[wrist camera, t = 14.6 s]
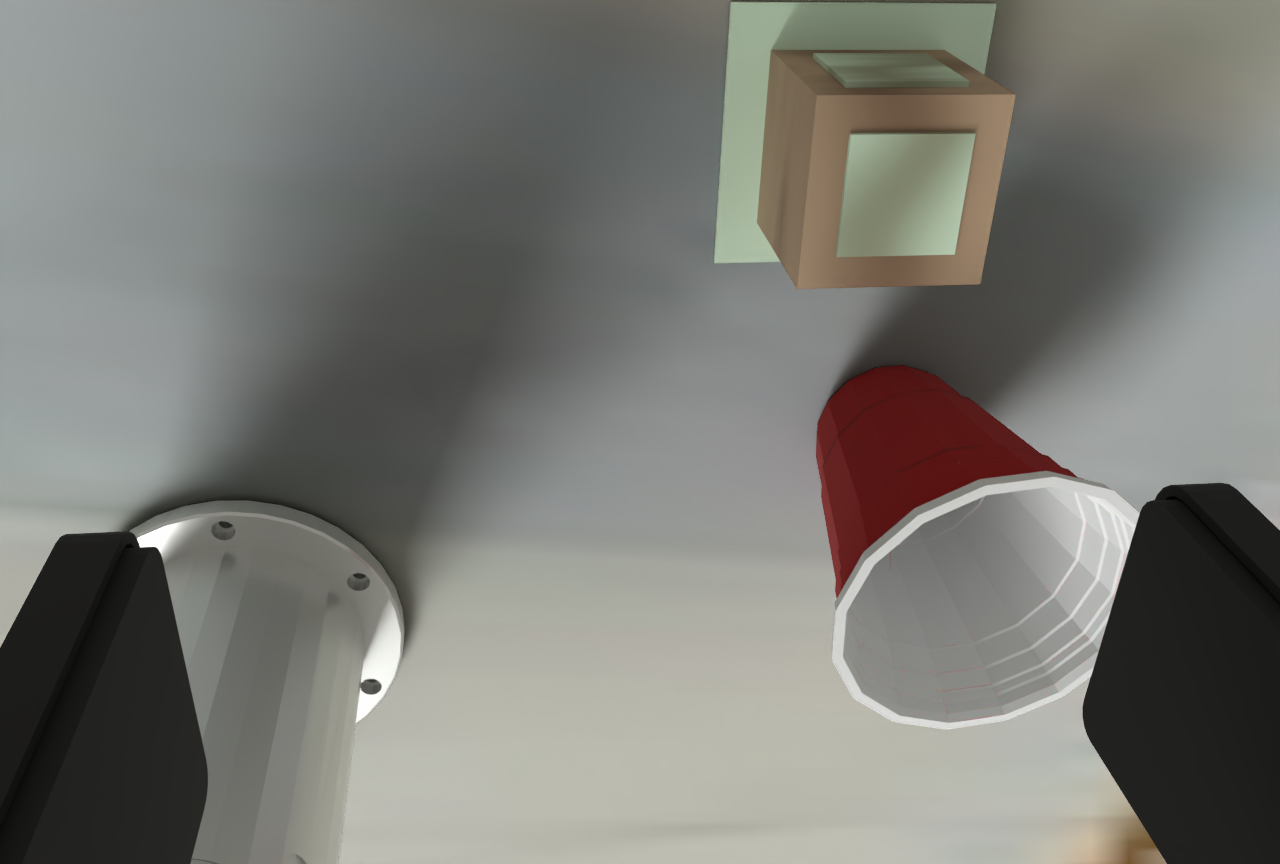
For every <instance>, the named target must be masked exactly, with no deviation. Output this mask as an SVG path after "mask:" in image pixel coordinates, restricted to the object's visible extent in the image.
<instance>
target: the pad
mask: <svg viewBox="0 0 1280 864" xmlns="http://www.w3.org/2000/svg"><path fill="white" fill-rule="evenodd" d="M996 5H997V4H995V3H873V2H730V15H729V30H728V46H727V62H726V77H725V93H724V109H723V125H722V140H721V156H720V172H719V187H718V203H717V219H716V234H715V250H714V263H746V262H780V260H779V258H778V257H777V255H776V253H775V252H774V250H773V249H772V247H771V245H770V244H769V242H768V240H767V239H766V237H765V235H764V234H763V232H762V230H761V229H760V227H759V225H758V224H757V214H758V202H759V189H760V177H761V164H762V152H763V140H764V127H765V115H766V103H767V90H768V78H769V65H770V53H771V50H945V51H947V52H949V53H950V54H952V55H953V56H955V57H957V58H958V59H960V60H961V61H963V62H965V63H966V64H968V65H969V66H971V67H973V68H974V69H976V70H977V71H979V72H981V73H982V74H985V69H986V63H987V57H988V51H989V46H990V40H991V34H992V28H993V23H994V17H995V11H996Z"/></svg>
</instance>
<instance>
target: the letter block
mask: <svg viewBox="0 0 1280 864" xmlns="http://www.w3.org/2000/svg"><path fill="white" fill-rule="evenodd" d="M1015 97H1016V94H1014V93H1013V92H1011V91H1010V90H1008V89H1006V88H1005V87H1003V86H1002V85H1000V84H998V83H997V82H995V81H994V80H992V79H990V78H989V77H987V76H986V75H984V74H982V73H981V72H979V71H977V70H976V69H974V68H973V67H971V66H969V65H968V64H966V63H965V62H963V61H961V60H960V59H958V58H957V57H955V56H953V55H952V54H950V53H949V52H947V51H945V50H771V53H770V65H769V78H768V90H767V103H766V115H765V127H764V140H763V152H762V164H761V177H760V189H759V202H758V214H757V224H758V225H759V227H760V229H761V230H762V232H763V234H764V235H765V237H766V239H767V240H768V242H769V244H770V245H771V247H772V249H773V250H774V252H775V253H776V255H777V257H778V258H779V260H780V262H781V263H782V265H783V267H784V268H785V270H786V272H787V273H788V275H789V277H790V278H791V280H792V281H793V283H794V285H795V286H796V288H797V289H815V288H855V287H895V286H934V285H974V284H980V283H981V278H982V273H983V267H984V262H985V257H986V251H987V246H988V241H989V235H990V230H991V225H992V219H993V214H994V209H995V203H996V198H997V193H998V187H999V182H1000V177H1001V171H1002V166H1003V161H1004V155H1005V150H1006V145H1007V139H1008V134H1009V129H1010V123H1011V118H1012V113H1013V107H1014V102H1015Z"/></svg>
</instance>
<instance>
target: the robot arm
mask: <svg viewBox="0 0 1280 864" xmlns="http://www.w3.org/2000/svg"><path fill="white" fill-rule="evenodd" d="M404 634H405V629H404V618H403V608H402V605H401V602H400V600H399V597H398V594H397V591H396V588H395V586H394V584H393V582H392V581H391V579H390V578H389V576H388V574H387V573H386V571H385V570H384V568H383V566H382V565H381V564H380V563H379V562H378V561H377V560H376V558H375V557H374V556H373V555H372V554H371V553H370V552H369V551H368V550H367V549H366V548H365V547H364V546H363V545H362V544H361V543H359V542H358V541H356V540H355V539H354V538H352V537H351V536H349V535H348V534H347V533H345V532H344V531H343V530H341V529H340V528H338V527H336V526H334V525H332V524H330V523H328V522H326V521H324V520H322V519H320V518H318V517H316V516H313V515H311V514H308V513H305V512H302V511H298V510H295V509H292V508H289V507H285V506H282V505H276V504H269V503H263V502H256V501H212V502H205V503H199V504H193V505H187V506H183V507H180V508H177V509H174V510H171V511H168V512H165V513H162V514H160V515H157V516H155V517H153V518H151V519H149V520H147V521H146V522H144V523H142V524H140V525H138V526H137V527H135V528H133V529H131V530H130V531H128V532H106V533H84V534H66V535H63V536H61V537H60V538H59V540H58V541H57V542H56V544H55V546H54V548H53V549H52V551H51V553H50V555H49V557H48V559H47V561H46V563H45V565H44V566H43V568H42V570H41V572H40V574H39V576H38V578H37V580H36V582H35V583H34V585H33V587H32V589H31V591H30V593H29V595H28V597H27V598H26V600H25V602H24V604H23V606H22V608H21V610H20V612H19V614H18V615H17V617H16V619H15V621H14V623H13V625H12V627H11V629H10V631H9V632H8V634H7V636H6V638H5V640H4V642H3V644H2V646H1V648H0V864H339V859H340V850H341V842H342V834H343V825H344V817H345V809H346V801H347V792H348V784H349V776H350V768H351V759H352V751H353V743H354V735H355V726H356V724H357V723H358V722H359V721H360V720H362V719H363V718H364V717H366V716H367V715H368V714H370V713H371V711H372V710H373V709H374V708H375V707H376V706H377V705H378V704H379V703H380V701H381V700H382V699H383V698H384V697H385V696H386V694H387V692H388V690H389V689H390V687H391V685H392V683H393V682H394V680H395V678H396V676H397V673H398V669H399V666H400V662H401V659H402V655H403V645H404ZM1083 721H1084V726H1085V729H1086V733H1087V735H1088V737H1089V739H1090V741H1091V743H1092V745H1093V746H1094V748H1095V749H1096V751H1097V753H1098V754H1099V756H1100V757H1101V759H1102V760H1103V762H1104V764H1105V765H1106V767H1107V768H1108V770H1109V772H1110V773H1111V775H1112V776H1113V778H1114V780H1115V781H1116V783H1117V784H1118V786H1119V788H1120V789H1121V791H1122V792H1123V794H1124V796H1125V797H1126V799H1127V800H1128V802H1129V804H1130V805H1131V807H1132V808H1133V810H1134V812H1135V813H1136V815H1137V816H1138V818H1139V820H1140V821H1141V823H1142V824H1143V826H1144V827H1145V829H1146V831H1147V832H1148V834H1149V835H1150V837H1151V839H1152V840H1153V842H1154V843H1155V845H1156V847H1157V848H1158V850H1159V851H1160V853H1161V855H1162V856H1163V858H1164V859H1165V861H1166V863H1167V864H1280V530H1279V529H1277V528H1276V527H1275V526H1274V525H1273V524H1272V523H1271V522H1270V521H1269V520H1268V519H1267V518H1266V517H1265V516H1264V515H1263V514H1262V513H1261V512H1260V511H1259V510H1258V509H1257V508H1256V507H1255V506H1254V505H1252V504H1251V503H1250V502H1249V501H1248V500H1247V499H1246V498H1245V497H1244V496H1243V495H1242V494H1241V493H1240V492H1239V491H1238V490H1237V489H1235V488H1234V487H1232V486H1231V485H1229V484H1224V483H1208V484H1186V485H1170V486H1167V487H1165V488H1163V489H1162V490H1161V491H1160V492H1159V493H1158V494H1157V497H1156V499H1155V500H1153V501H1150V502H1147V503H1146V504H1145V505H1144V506H1143V507H1142V510H1141V512H1140V514H1139V517H1138V521H1137V524H1136V527H1135V531H1134V534H1133V537H1132V541H1131V544H1130V548H1129V551H1128V554H1127V558H1126V561H1125V564H1124V568H1123V571H1122V574H1121V578H1120V581H1119V584H1118V588H1117V591H1116V595H1115V598H1114V601H1113V605H1112V608H1111V611H1110V615H1109V618H1108V621H1107V625H1106V628H1105V631H1104V635H1103V638H1102V641H1101V645H1100V648H1099V652H1098V655H1097V658H1096V662H1095V665H1094V668H1093V672H1092V675H1091V678H1090V682H1089V685H1088V688H1087V692H1086V695H1085V699H1084V703H1083Z"/></svg>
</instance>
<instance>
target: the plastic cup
mask: <svg viewBox="0 0 1280 864" xmlns="http://www.w3.org/2000/svg"><path fill="white" fill-rule="evenodd" d="M816 458H817V463H818V469H819V474H820V479H821V484H822V493H821V498H822V503H823V509H824V515H825V520H826V526H827V532H828V537H829V543H830V549H831V555H832V560H833V566H834V572H835V577H836V588H835V592H836V597H837V599H836V601H835V609H834V624H833V638H832V661H833V663H834V664H835V666H836V668H837V670H838V672H839V674H840V675H841V677H842V679H843V681H844V683H845V685H846V686H847V688H848V690H849V692H850V694H851V696H852V697H853V698H854V699H855V700H857V701H859V702H861V703H862V704H864V705H866V706H867V707H869V708H871V709H872V710H874V711H876V712H877V713H879V714H881V715H882V716H884V717H886V718H887V719H889V720H891V721H892V722H897V723H904V724H911V725H918V726H925V727H932V728H938V729H945V730H947V729H954V728H960V727H967V726H974V725H981V724H987V723H994V722H1001V721H1006V720H1008V719H1011V718H1013V717H1016V716H1018V715H1020V714H1023V713H1025V712H1028V711H1030V710H1033V709H1035V708H1037V707H1040V706H1042V705H1045V704H1047V703H1049V702H1052V701H1054V700H1057V699H1059V698H1062V697H1063V696H1065V695H1066V694H1068V693H1069V692H1070V691H1072V690H1073V689H1074V688H1076V687H1077V686H1078V685H1080V684H1081V683H1083V682H1084V681H1085V680H1087V679H1088V678H1089V677H1091V675H1092V672H1093V668H1094V665H1095V662H1096V658H1097V655H1098V652H1099V648H1100V645H1101V641H1102V638H1103V635H1104V631H1105V628H1106V625H1107V621H1108V618H1109V615H1110V611H1111V608H1112V605H1113V601H1114V598H1115V595H1116V591H1117V588H1118V584H1119V581H1120V578H1121V574H1122V571H1123V568H1124V564H1125V561H1126V558H1127V554H1128V551H1129V548H1130V544H1131V541H1132V537H1133V534H1134V531H1135V527H1136V524H1137V521H1138V517H1139V514H1140V513H1139V512H1137V511H1136V510H1135V509H1134V508H1133V507H1132V506H1131V505H1129V504H1128V503H1127V502H1126V501H1125V500H1124V499H1123V498H1121V497H1120V496H1119V495H1118V494H1117V493H1116V492H1114V491H1113V490H1112V489H1110V488H1109V487H1107V486H1106V485H1104V484H1101V483H1097V482H1093V481H1088V480H1084V479H1081V478H1078V477H1077V476H1075V475H1074V474H1073V473H1072V472H1071V471H1070V470H1068V469H1065V468H1062V467H1060V466H1059V465H1058V464H1057V463H1056V462H1055V461H1053V460H1052V459H1051V458H1050V457H1049V456H1046V455H1042V454H1041V453H1039V452H1038V451H1037V450H1035V449H1034V448H1033V447H1032V446H1030V445H1029V444H1028V443H1026V442H1025V441H1024V440H1023V439H1021V438H1020V437H1019V436H1017V435H1016V434H1015V433H1013V432H1012V431H1011V430H1010V429H1008V428H1007V427H1006V426H1004V425H1003V424H1002V423H1001V422H999V421H998V420H997V419H995V418H994V417H993V416H992V415H990V414H989V413H988V412H986V411H985V410H984V409H983V408H981V407H980V406H979V405H977V404H976V403H975V402H974V401H972V400H971V399H970V398H968V397H964V396H961V395H960V394H959V393H958V392H956V391H955V390H954V389H953V388H951V387H950V386H949V385H947V384H946V383H945V382H944V381H942V380H941V379H940V378H939V377H937V376H936V375H933V374H929V373H928V372H926V371H922V370H919V369H915V368H912V367H908V366H904V365H897V366H888V367H879V368H873V369H871V370H869V371H867V372H865V373H863V374H861V375H859V376H857V377H855V378H853V379H850V380H849V381H848V382H846V383H845V384H844V385H843V386H842V387H841V388H840V389H839V390H838V391H837V392H836V393H835V394H834V395H833V396H832V397H831V398H830V399H829V400H828V402H827V404H826V407H825V409H824V411H823V413H822V415H821V417H820V419H819V421H818V427H817V446H816Z"/></svg>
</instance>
